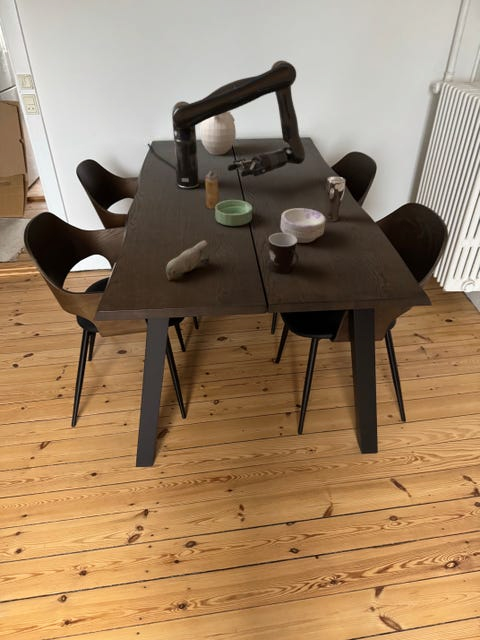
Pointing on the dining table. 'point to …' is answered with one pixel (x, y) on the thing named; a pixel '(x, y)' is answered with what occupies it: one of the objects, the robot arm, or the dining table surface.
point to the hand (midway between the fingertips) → (235, 171)
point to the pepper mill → (211, 190)
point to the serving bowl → (233, 212)
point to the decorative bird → (186, 260)
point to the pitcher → (218, 133)
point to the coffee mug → (282, 252)
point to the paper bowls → (303, 224)
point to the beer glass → (333, 197)
